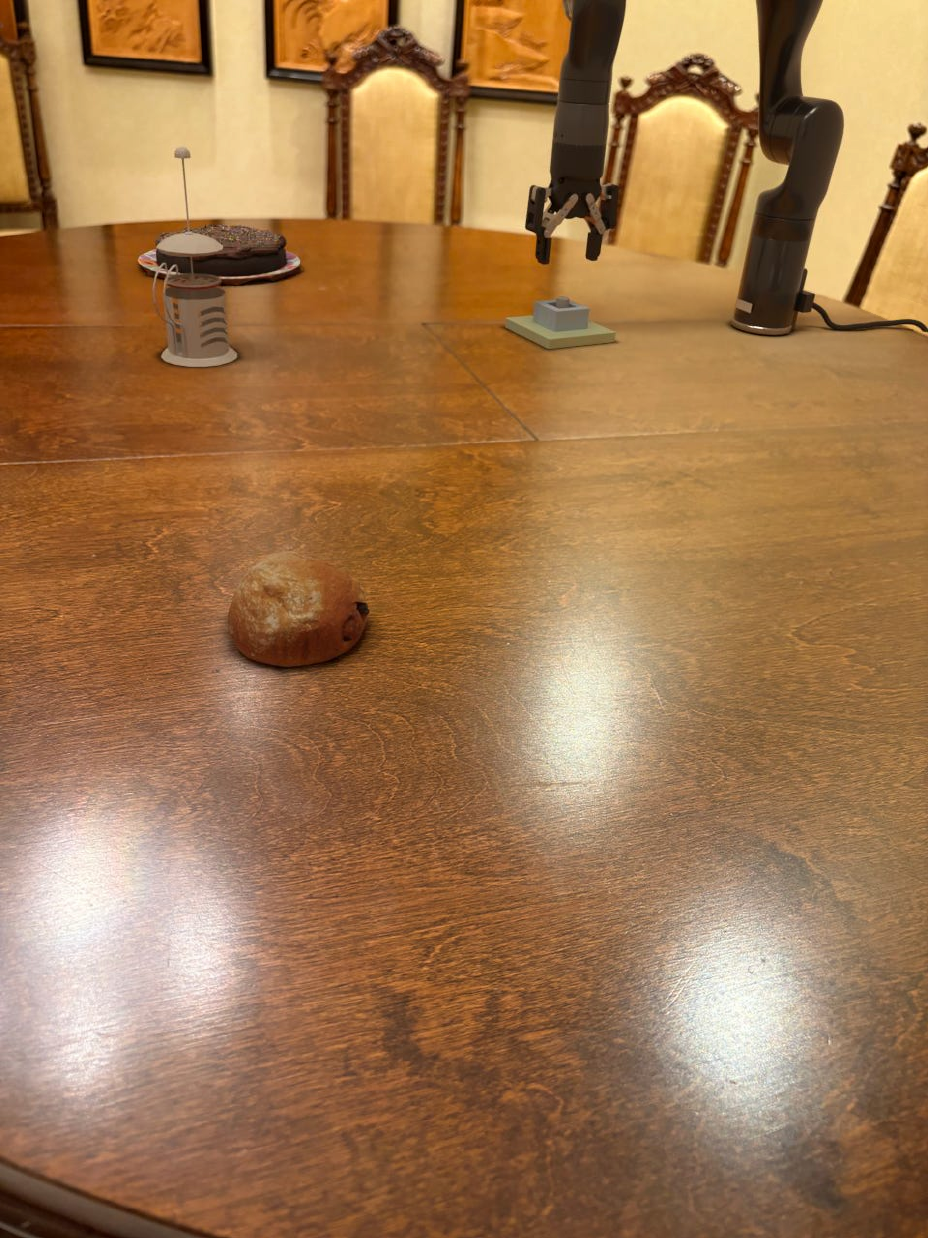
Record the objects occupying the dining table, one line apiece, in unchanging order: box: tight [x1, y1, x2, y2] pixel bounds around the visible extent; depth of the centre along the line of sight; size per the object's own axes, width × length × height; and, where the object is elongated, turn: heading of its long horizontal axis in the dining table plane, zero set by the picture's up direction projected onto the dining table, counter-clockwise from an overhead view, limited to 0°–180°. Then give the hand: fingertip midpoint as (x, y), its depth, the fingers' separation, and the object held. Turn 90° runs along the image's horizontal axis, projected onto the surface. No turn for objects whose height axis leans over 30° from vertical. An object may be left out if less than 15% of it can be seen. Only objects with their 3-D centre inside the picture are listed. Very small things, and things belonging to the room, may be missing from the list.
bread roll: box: [226, 550, 370, 668], centre depth 72 cm, size 10×10×8 cm
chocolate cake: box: [137, 223, 302, 286], centre depth 170 cm, size 28×28×7 cm
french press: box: [152, 146, 238, 368], centre depth 121 cm, size 10×12×25 cm
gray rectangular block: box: [532, 299, 591, 332], centre depth 146 cm, size 6×6×3 cm
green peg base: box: [504, 295, 617, 350], centre depth 146 cm, size 12×12×6 cm
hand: (567, 261), depth 142 cm, fingers open, 8 cm apart
